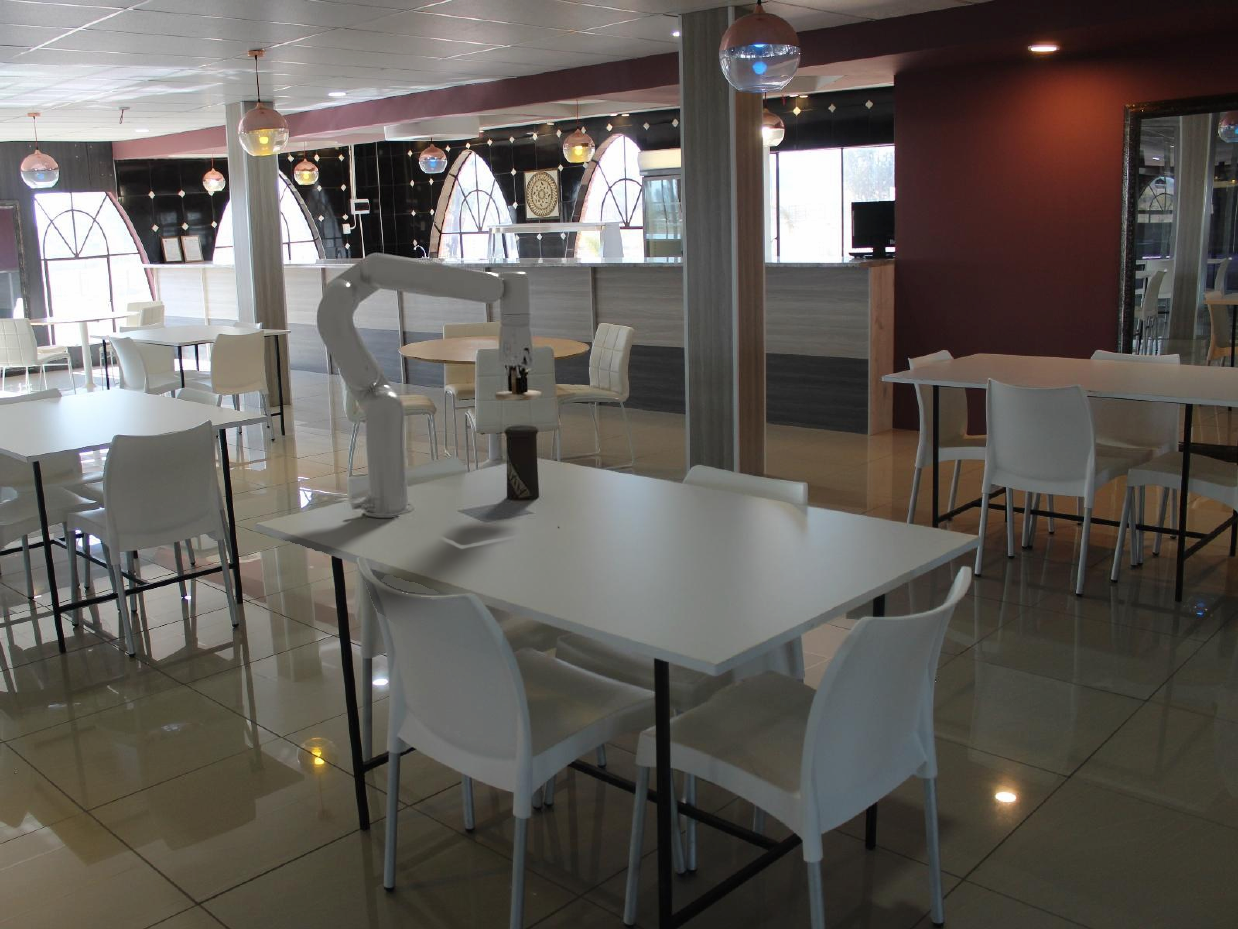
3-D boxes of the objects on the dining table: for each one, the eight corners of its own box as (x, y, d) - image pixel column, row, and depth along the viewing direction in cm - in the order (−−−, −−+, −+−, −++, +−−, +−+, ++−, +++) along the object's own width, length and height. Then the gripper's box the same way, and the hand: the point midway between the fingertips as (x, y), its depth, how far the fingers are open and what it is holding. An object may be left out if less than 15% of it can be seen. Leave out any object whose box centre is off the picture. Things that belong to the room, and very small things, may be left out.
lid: (510, 402, 278) (509, 374, 277) (486, 396, 288) (485, 370, 286) (550, 397, 285) (549, 370, 284) (525, 392, 295) (524, 366, 293)
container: (502, 498, 296) (499, 424, 292) (533, 494, 300) (531, 422, 295) (512, 505, 288) (510, 429, 284) (545, 501, 292) (543, 427, 288)
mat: (485, 525, 269) (485, 521, 269) (457, 513, 280) (457, 510, 280) (533, 515, 277) (533, 512, 277) (504, 505, 288) (504, 502, 288)
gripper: (486, 319, 287) (489, 389, 290) (519, 323, 273) (521, 396, 277) (511, 317, 291) (514, 387, 295) (544, 321, 278) (547, 393, 282)
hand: (517, 391), depth 286 cm, fingers closed on lid, 3 cm apart
